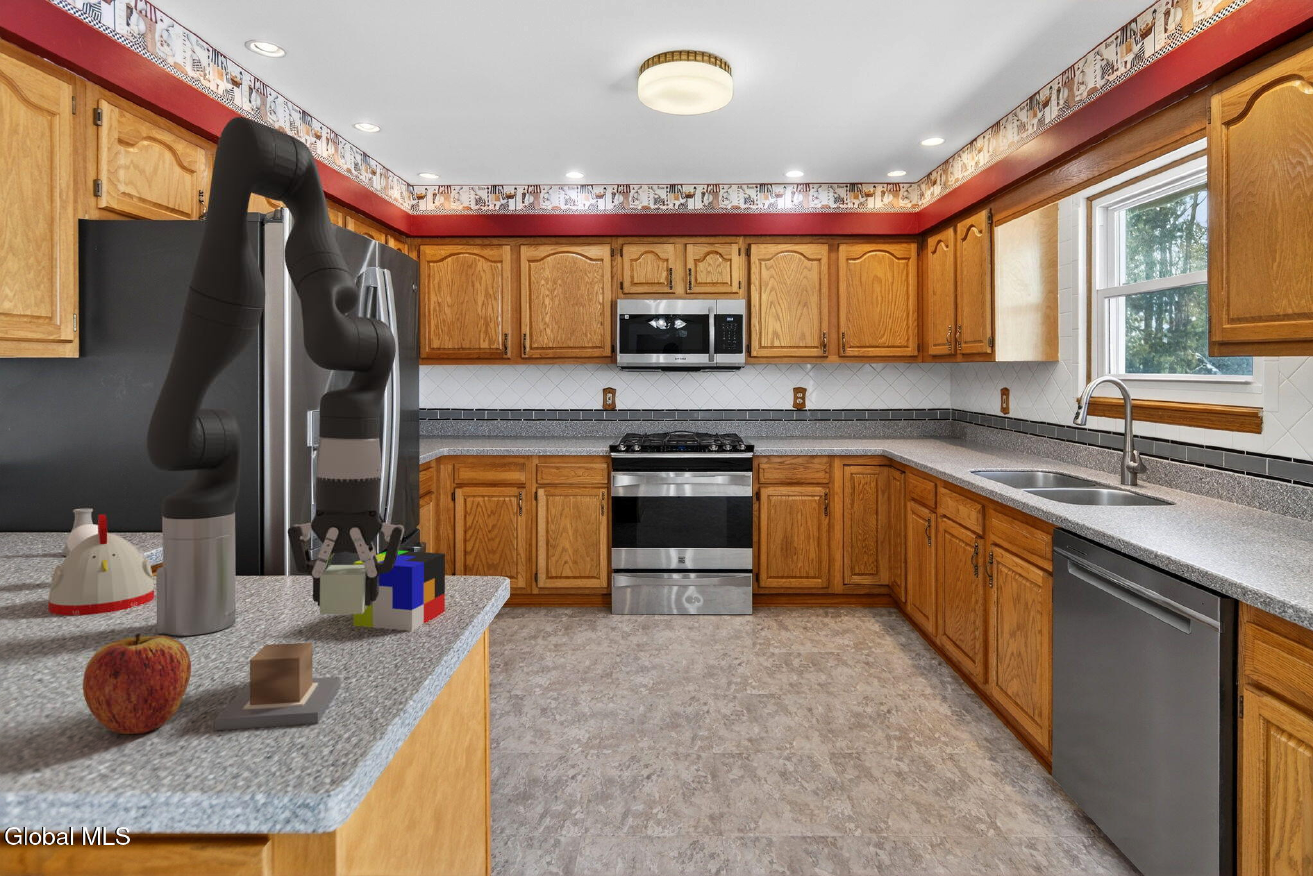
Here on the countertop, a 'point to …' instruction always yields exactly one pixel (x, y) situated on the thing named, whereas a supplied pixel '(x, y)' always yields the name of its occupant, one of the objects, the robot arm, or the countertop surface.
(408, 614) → the puzzle toy
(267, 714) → the build board
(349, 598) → the sage block
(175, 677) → the apple
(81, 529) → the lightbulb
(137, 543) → the countertop surface
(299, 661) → the walnut block
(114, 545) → the kitchen timer
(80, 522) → the flask
